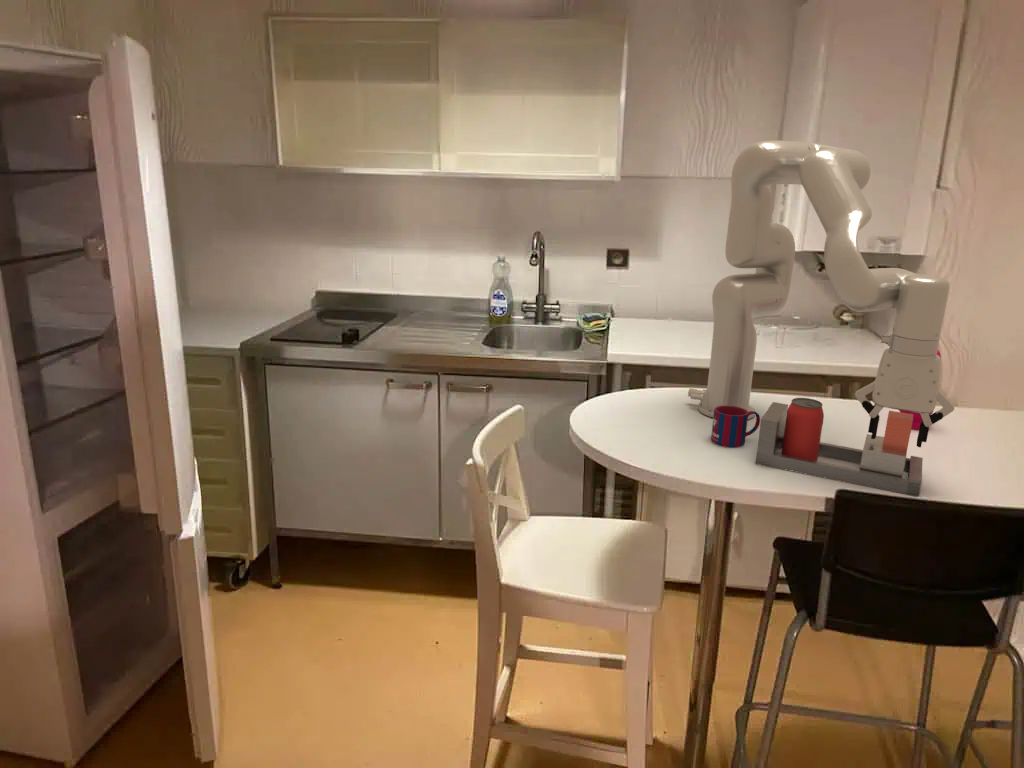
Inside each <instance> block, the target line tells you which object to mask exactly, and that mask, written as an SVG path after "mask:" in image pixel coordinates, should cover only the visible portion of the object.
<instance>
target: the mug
mask: <svg viewBox="0 0 1024 768" xmlns="http://www.w3.org/2000/svg"><path fill="white" fill-rule="evenodd" d="M751 414H755V417H756V418H755V420H756V421H755V424H754V426H753V427H752V429H750V430H749V431H747V427H748V420H749V419H748V416H749V415H751ZM712 418H713V420H712V425H711V428H712V429H711V435H710V436H711V437H710V441H711V443H713V444H715V445H718V446H721V447H724V448H740V447H743V446H744V445H745V444H746V443H745V442H746V437H748V436H751V435H752V434H754V433H755V432H756V431H757V430H758V428H759V427H760V423H761V416H760V414H759V413H758V412H756V410H755V411H749V412H748V411H747V410H745V409H743V408H740V407H736V406H728V405H723V406H717V407H715V409H714V417H712Z"/></svg>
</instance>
